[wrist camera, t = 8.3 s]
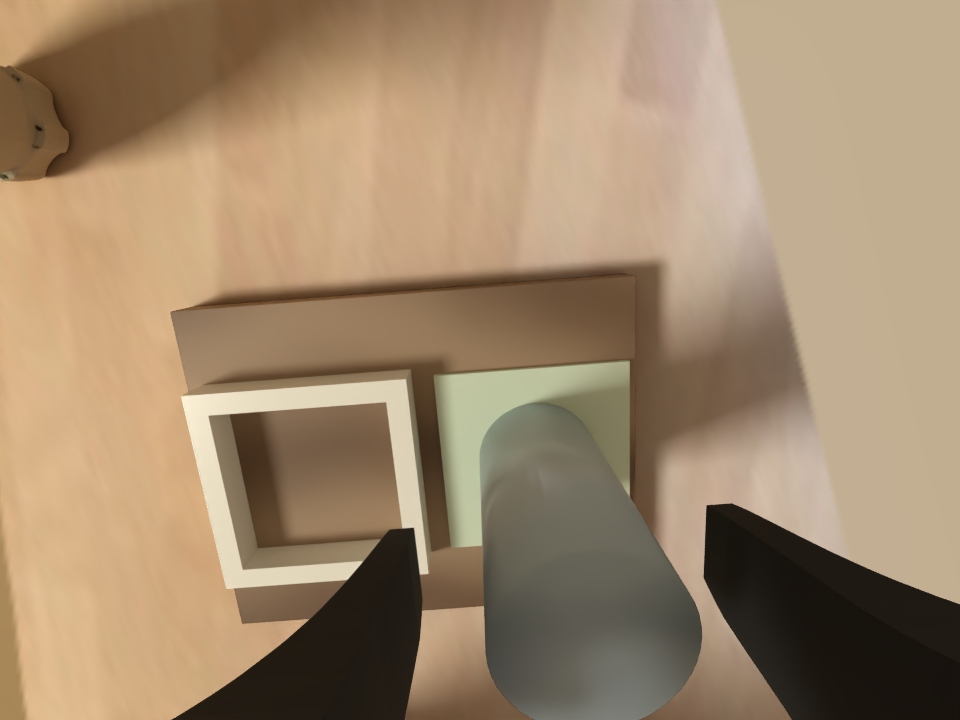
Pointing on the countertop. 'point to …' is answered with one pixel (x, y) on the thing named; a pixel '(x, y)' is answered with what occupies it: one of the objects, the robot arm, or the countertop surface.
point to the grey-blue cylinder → (575, 578)
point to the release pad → (489, 394)
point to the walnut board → (383, 406)
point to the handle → (27, 127)
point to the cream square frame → (227, 488)
